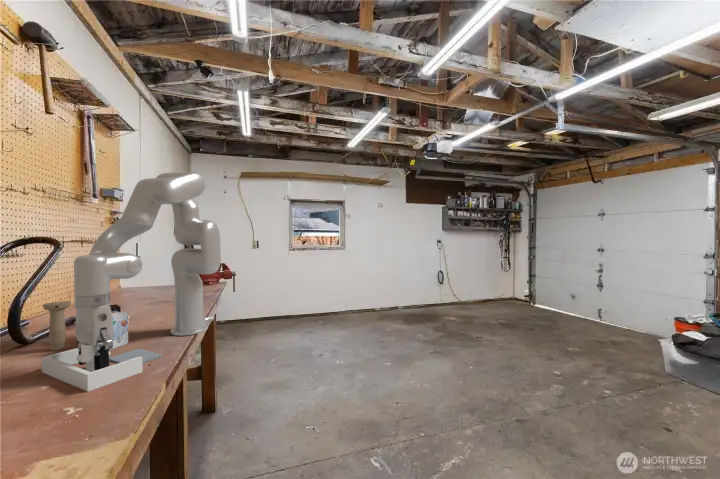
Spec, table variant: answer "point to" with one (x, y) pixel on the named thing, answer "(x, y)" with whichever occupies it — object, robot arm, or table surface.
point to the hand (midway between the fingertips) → (93, 365)
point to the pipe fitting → (88, 355)
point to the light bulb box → (120, 329)
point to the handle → (57, 324)
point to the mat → (133, 354)
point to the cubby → (83, 379)
